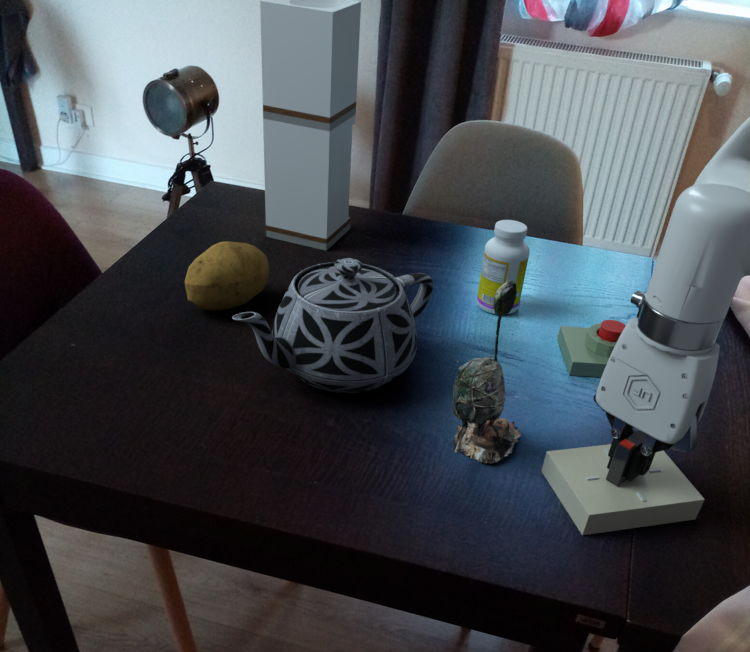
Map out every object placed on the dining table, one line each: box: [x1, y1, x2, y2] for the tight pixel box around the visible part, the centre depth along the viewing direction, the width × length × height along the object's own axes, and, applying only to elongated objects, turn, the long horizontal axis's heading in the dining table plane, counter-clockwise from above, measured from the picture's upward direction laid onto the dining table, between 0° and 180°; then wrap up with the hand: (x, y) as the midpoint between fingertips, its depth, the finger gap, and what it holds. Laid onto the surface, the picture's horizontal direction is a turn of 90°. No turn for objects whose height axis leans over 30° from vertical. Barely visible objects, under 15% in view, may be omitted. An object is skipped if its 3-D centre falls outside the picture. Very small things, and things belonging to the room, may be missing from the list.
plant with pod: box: [451, 280, 522, 464], centre depth 88 cm, size 8×11×20 cm
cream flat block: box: [541, 443, 705, 536], centre depth 88 cm, size 14×11×3 cm
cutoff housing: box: [556, 322, 617, 378], centre depth 111 cm, size 12×10×4 cm
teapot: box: [231, 257, 434, 394], centre depth 100 cm, size 19×31×15 cm, turn 127°
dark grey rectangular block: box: [606, 429, 646, 486], centre depth 86 cm, size 5×2×5 cm, turn 133°
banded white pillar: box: [259, 0, 362, 252], centre depth 127 cm, size 11×11×35 cm
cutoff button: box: [598, 319, 627, 342], centre depth 109 cm, size 4×4×2 cm
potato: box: [184, 240, 270, 312], centre depth 114 cm, size 10×13×9 cm
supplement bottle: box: [476, 219, 530, 315], centre depth 118 cm, size 7×7×13 cm
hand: (625, 469), depth 87 cm, fingers closed on dark grey rectangular block
